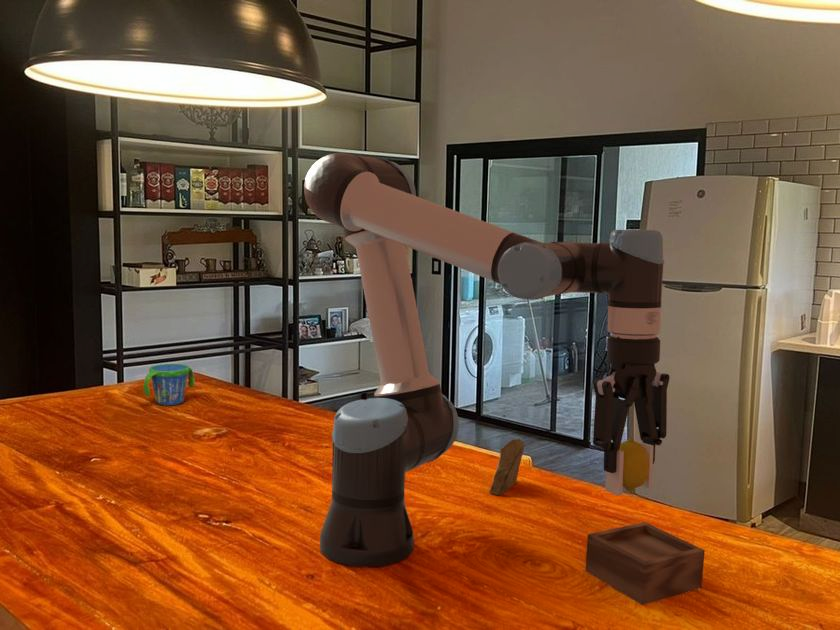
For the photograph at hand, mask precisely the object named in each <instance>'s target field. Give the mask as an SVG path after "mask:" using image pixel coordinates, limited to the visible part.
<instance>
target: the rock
mask: <svg viewBox="0 0 840 630" xmlns="http://www.w3.org/2000/svg"><path fill="white" fill-rule="evenodd" d="M525 446H526V445H525V443H524V441H523V440H521V439H520V438H514V439H511V440H510V441H509V442H508V443H506V444H505V445H504V446H503V447H502V448H500V451H499V452H500V453H499V459H498V463H497V466H496V469H495V474H494V475H493V479H492V483H491V486H490V489H489V490H488V491H489V493H490V494H492V495H495V496H501V495H502V494H504V493H505V492H506V491H508V489H510V488H512V486H513V485H515V484H516V483H517V480H518V476H519V472H520V465H521V460H522V457H523V455H524V454H523V453H524V449H525Z"/></svg>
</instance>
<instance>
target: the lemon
mask: <svg viewBox="0 0 840 630" xmlns="http://www.w3.org/2000/svg"><path fill="white" fill-rule="evenodd" d="M637 442H638V441H635V440H634V439H633V438H629V439H627V440H626V441H623V442H622V441H621V445H620V449H619V450H621V451H624V461H623V488H625V490H626V491H627V492H629V493H630V492H633V491H634V490H635V489H636V488H639V487H642V486H641V485H642V484H644V482H645V481H646V480H647V477H648V475H649V470H650V463H649V457H648V454H647V451H646V450H645V448H644V447H643V446H642V445H641V444H639V443H637Z"/></svg>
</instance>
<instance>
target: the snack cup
mask: <svg viewBox="0 0 840 630" xmlns="http://www.w3.org/2000/svg"><path fill="white" fill-rule="evenodd" d="M150 380H151V382H152V389H153V395H154V400H155V403H156V404H157V405H159V406H160V405H161V406H176V405H180V404H183V403H184V401H185V396H186V387H187V386H188V387H189V388H194V387H195V383H196V381H195V380H196V379H195V375H194V371H193V369H192V368H191V367H189V366H188V365H186V364H182V363H181V364H180V363H164V364H162V363H161V364H157V365H153V366H150V367H149V371H148V373H147V374H146V376H145V378H144V381H143V385H142V386H143V387H142V391H143V395H145V396H146V397H149V396H150V395H151V391H150V385H149V384H150V383H149V382H150Z"/></svg>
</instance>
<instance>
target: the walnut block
mask: <svg viewBox="0 0 840 630" xmlns="http://www.w3.org/2000/svg"><path fill="white" fill-rule="evenodd" d="M586 539H587V540H586V557H585V572H586V573H588V574H590V575H591V576H593V577H594V578H596V579H598V580H600V581H602V582H603V583H604V584H607V585H608V586H610V587H611V588H613V589H615V590H616V591H618V592H619V593H621V594H623V595H625V597H628V598H630V599H631V600H633V601H634V602H636V603H638V604H639V605H640V606H641V605H642V606H643V605H645V606H646V605H648V604H650V603H655V602H658V601H662V600H665V599H670V598H672V597H675V596H679V595H683V594H686V592H687V593H690V592H693V591H692V590H694V591H696V590H695V589H697V590H699V589H698V588H701V589H702V586H703V577H704V575H703V574H704V562H705V549H703V548H701V547H699V546H696V545H694V544H693V543H690V542H688V541H686V540H683V539H682V538H681V537H680V538H679V537H678V536H675V535H673V534H671V533H669V532H667V531H665V530H663V529H661V528H659V527H656V526H655V525H652V524H650V523H649V522H646V521H643V522H638V523H635V524H631V525H626V526H620V527H615V528H611V529H607V530H601V531H597V532H591V533H588V534H587V538H586ZM689 591H690V592H689Z"/></svg>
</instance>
